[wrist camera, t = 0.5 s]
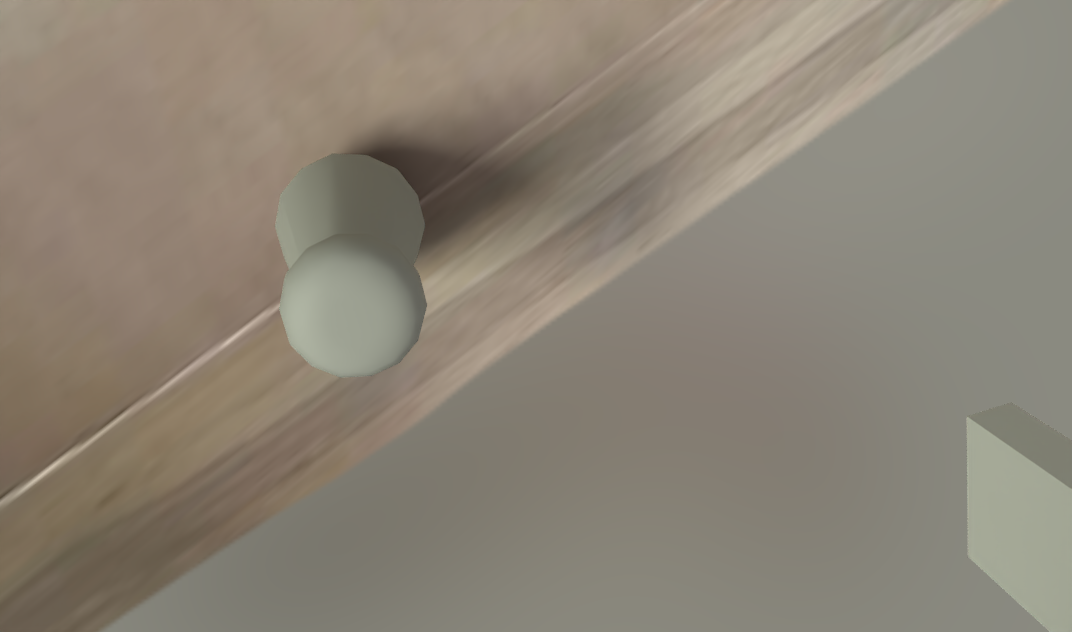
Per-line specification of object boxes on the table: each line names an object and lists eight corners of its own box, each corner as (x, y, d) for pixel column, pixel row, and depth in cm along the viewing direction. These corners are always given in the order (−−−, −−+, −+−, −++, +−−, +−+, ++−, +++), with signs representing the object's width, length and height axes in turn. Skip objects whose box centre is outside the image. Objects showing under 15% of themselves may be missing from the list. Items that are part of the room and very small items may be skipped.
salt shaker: (294, 127, 35) (269, 200, 23) (432, 160, 37) (475, 244, 25) (269, 262, 37) (234, 395, 25) (402, 288, 38) (429, 423, 26)
